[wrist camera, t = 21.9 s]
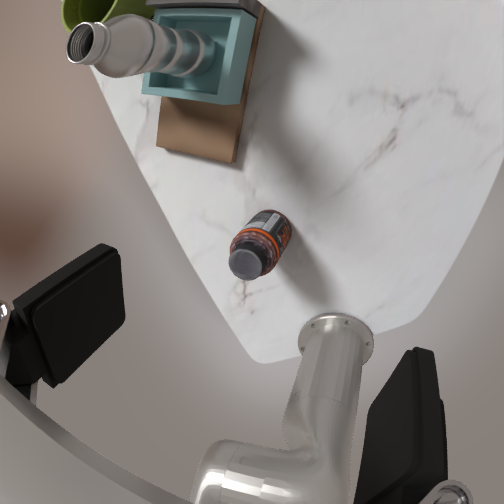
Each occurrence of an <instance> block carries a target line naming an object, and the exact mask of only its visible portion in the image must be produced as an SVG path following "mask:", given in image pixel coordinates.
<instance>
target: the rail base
mask: <svg viewBox="0 0 504 504" xmlns="http://www.w3.org/2000/svg"><path fill="white" fill-rule="evenodd" d="M146 5H147V6H151V7H154V8H158V9H173V8H219V9H239V10H243V11H245V12H246V13H248V14H249V15H251V16H252V17H254V18H255V19H256V24H255V29H254V34H253V38H252V43H251V48H250V53H249V58H248V63H247V68H246V73H245V79H244V84H243V89H242V94H241V100H240V104H231V105H220V104H215V103H209V102H202V101H196V100H189V99H182V98H174V97H166V96H162V98H161V106H160V114H159V123H158V132H157V142H156V146H157V147H162V148H167V149H171V150H176V151H180V152H185V153H189V154H193V155H198V156H202V157H206V158H210V159H214V160H218V161H222V162H226V163H230V164H231V163H233V162H235V159H236V154H237V148H238V142H239V137H240V131H241V126H242V120H243V115H244V110H245V104H246V99H247V94H248V88H249V83H250V78H251V73H252V68H253V63H254V58H255V53H256V48H257V43H258V38H259V34H260V29H261V24H262V19H263V15H264V10H265V6H264V5H262V4H261V3H260V2H259V1H258V0H146Z"/></svg>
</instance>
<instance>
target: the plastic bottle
mask: <svg viewBox="0 0 504 504" xmlns="http://www.w3.org/2000/svg"><path fill="white" fill-rule="evenodd" d="M215 55H216V47H215V44H214V42H213V40H212V39H211V38H210V37H209V36H208V35H206V34H205V33H204V32H202V31H199V30H195V29H174V28H169V27H166V26H163V25H159V24H157V23H155V22H153V21H151V20H149V19H146V18H144V17H142V16H138V15H135V14H125V15H120V16H116V17H114V18H111V19H110V20H108V21H106V22H105V23H101V22H94V23H92V22H83V23H80V24H78V25H77V26H76V27H75V28H74V29H73V30H72V31H71V33H70V35H69V37H68V39H67V43H66V56H67V58H68V60H69V61H70V62H72V63H74V64H84V65H94V67H95V68H96V69H97V70H98V71H99V72H100V73H102V74H104V75H106V76H109V77H112V78H122V77H128V76H133V75H137V74H142V73H152V72H160V73H166V74H170V75H172V76H175V77H179V78H191V77H195V76H198V75H201V74H202V73H204V72H206V71H207V70H208V69H209V68H210V66H211V65H212V63H213V62H214V59H215Z"/></svg>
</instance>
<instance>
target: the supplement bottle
mask: <svg viewBox="0 0 504 504" xmlns="http://www.w3.org/2000/svg"><path fill="white" fill-rule="evenodd" d="M290 237H291V226H290V223H289V221H288V220H287V218H286V217H285V216H284V215H283V214H281V213H279V212H277V211H274V210H264V211H261V212H259V213H258V214H256V215H255V216H254V217H253V218H252V219H251V220H250V221H249V223H248V224H247V225H246V226H245V227H244V228H243V229H242V230H241V231H240V232H239V233H238V234H237V235H236V237H235V238H234V239H233V241H232V243H231V246H230V257H229V267H230V269H231V271H232V272H233V274H234V275H236V276H237V277H238V278H240V279H243V280H254V279H256V278H258V277H259V276H263V275H266V274H268V273H269V272H270V271H271V270H272V269H273V268H274V267H275V265H276V264H277V262H278V260H279V258H280V257H281V255H282V253H283V251H284V249H285V248H286V246H287V244H288V242H289V240H290Z"/></svg>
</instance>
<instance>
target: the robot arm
mask: <svg viewBox="0 0 504 504" xmlns="http://www.w3.org/2000/svg"><path fill="white" fill-rule="evenodd" d="M13 304H14V308H15V309H14V310H13V311H11V308H10V306H9V304H8V303H7V302H5V301H2V300H0V504H347V503H348V498H349V487H350V456H351V448H352V440H353V433H354V426H355V419H356V412H357V406H358V398H359V390H360V382H361V373H362V365H364V364H365V363H366V362H367V361H368V359H369V358H370V357H371V355H372V352H373V345H374V342H373V336H372V334H371V331H370V330H369V328H368V327H367V326H366V325H365V324H364V323H363V322H362V321H360V320H358V319H357V318H355V317H352V316H349V315H346V314H341V313H328V314H323V315H319V316H317V317H314V318H312V319H311V320H309V321H308V322H307V323H306V324H305V325H304V326H303V328H302V329H301V331H300V334H299V337H298V347H299V350H300V353H301V354H302V356H303V357H302V360H301V364H300V367H299V370H298V373H297V376H296V379H295V382H294V386H293V389H292V392H291V395H290V398H289V401H288V404H287V407H286V409H285V412H284V416H283V419H282V431H283V435H284V438H285V440H286V442H287V444H288V446H289V448H290V450H289V451H288V450H281V449H273V448H268V447H264V446H258V445H254V444H250V443H244V442H240V441H235V440H225V439H224V440H219V441H216V442H214V443H213V444H211V445H210V446H209V447H208V448H207V449H206V451H205V452H204V454H203V456H202V458H201V461H200V463H199V466H198V469H197V472H196V476H195V480H194V484H193V488H192V492H191V496H190V500H189V501H187V500H185V499H182V498H180V497H178V496H176V495H174V494H172V493H169V492H167V491H165V490H163V489H161V488H159V487H157V486H155V485H153V484H151V483H149V482H147V481H146V480H144V479H142V478H140V477H138V476H136V475H135V474H133V473H131V472H129V471H128V470H126V469H124V468H122V467H121V466H119V465H117V464H116V463H114V462H112V461H111V460H109V459H108V458H106V457H104V456H103V455H101V454H100V453H98V452H97V451H95V450H93V449H92V448H91V447H89V446H88V445H86V444H85V443H83V442H82V441H80V440H79V439H77V438H76V437H75V436H73V435H72V434H71V433H69V432H68V431H66V430H65V429H64V428H62V427H61V426H60V425H58V424H57V423H56V422H55V421H53V420H52V419H51V418H49V417H48V416H47V415H46V414H44V413H43V412H42V411H41V410H40V409H38V408H37V407H36V398H37V385H38V380H39V379H40V378H41V377H42V379H43V381H44V382H46V383H47V384H48V385H49V386H51V387H52V388H55V387H56V386H57V385H58V384H59V383H63V382H64V381H66V380H67V379H68V377H69V376H71V374H73V373H74V372H75V371H76V370H77V368H78V367H80V366H81V365H82V364H83V362H85V361H86V359H88V358H89V357H90V356H91V355H92V353H94V352H95V351H96V350H97V349H98V348H99V347H100V346H101V345H102V344H103V343H104V342H105V341H106V340H107V339H108V338H109V337H110V336H111V335H112V334H113V333H114V332H115V331H116V330H117V329H119V328H120V327H121V326H122V324H123V323H124V321H125V307H124V297H123V285H122V272H121V258H120V255H119V254H118V251H117V249H115V248H114V247H111V246H108V245H106V244H102V243H101V244H98V245H97V246H95V247H94V248H92V249H90V250H89V251H87V252H86V253H84V254H82V255H81V256H79V257H77V258H76V259H74V260H73V261H71V262H70V263H68V264H67V265H65V266H63V267H62V268H60V269H59V270H57V271H56V272H54V273H53V274H51V275H50V276H48V277H47V278H45V279H44V280H42V281H41V282H39V283H38V284H37V285H35V286H33V287H32V288H30V289H29V290H28V291H26V292H25V293H23V294H22V295H21V296H19V297H18V298H16V299H15V300H13ZM447 463H448V462H447V439H446V424H445V413H444V405H443V401H442V400H441V399H440V395H439V387H438V378H437V371H436V364H435V358H434V353H433V351H430V350H427V349H423V348H419V347H414V348H413V350H412V351H411V350H407V351H406V352H405V354H404V355H403V357H402V359H401V360H400V362H399V363H398V365H397V367H396V368H395V370H394V371H393V373H392V375H391V376H390V378H389V379H388V381H387V382H386V384H385V385H384V387H383V388H382V390H381V391H380V393H379V394H378V396H377V397H376V399H375V400H374V401H373V403H372V404H371V406H370V408H369V411H368V415H367V425H366V431H365V439H364V446H363V453H362V459H361V466H360V471H359V477H358V482H357V488H356V493H355V498H354V503H353V504H473V498H472V495H471V492H470V491H469V489H468V488H467V487H466V486H465V485H464V484H463V483H461V482H459V481H456V480H448V467H447V466H448V464H447Z"/></svg>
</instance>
